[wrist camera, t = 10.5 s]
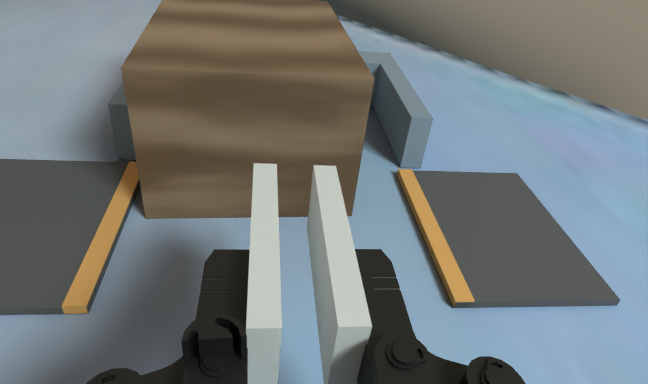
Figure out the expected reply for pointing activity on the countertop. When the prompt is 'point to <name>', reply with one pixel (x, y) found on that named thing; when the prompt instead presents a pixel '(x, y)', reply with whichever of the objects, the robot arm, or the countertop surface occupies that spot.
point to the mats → (419, 187)
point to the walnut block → (243, 104)
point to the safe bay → (387, 99)
